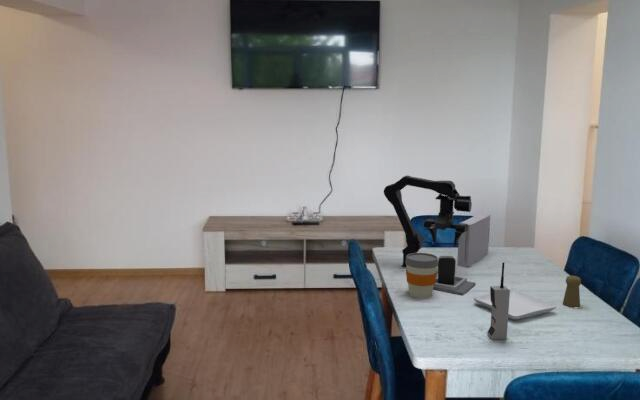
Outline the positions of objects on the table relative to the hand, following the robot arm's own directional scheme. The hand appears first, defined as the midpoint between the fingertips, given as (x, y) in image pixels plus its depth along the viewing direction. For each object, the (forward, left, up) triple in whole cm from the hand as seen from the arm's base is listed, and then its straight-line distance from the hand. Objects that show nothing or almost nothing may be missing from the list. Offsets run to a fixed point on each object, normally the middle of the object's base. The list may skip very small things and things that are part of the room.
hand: (444, 244), depth 250 cm
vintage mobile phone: (+40, -59, -12) cm, 72 cm away
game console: (+5, +25, -12) cm, 28 cm away
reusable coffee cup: (+3, -34, -12) cm, 36 cm away
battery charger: (+8, -19, -11) cm, 23 cm away
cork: (+55, -14, -12) cm, 58 cm away
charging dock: (+9, -19, -12) cm, 24 cm away
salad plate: (+38, -30, -13) cm, 50 cm away
